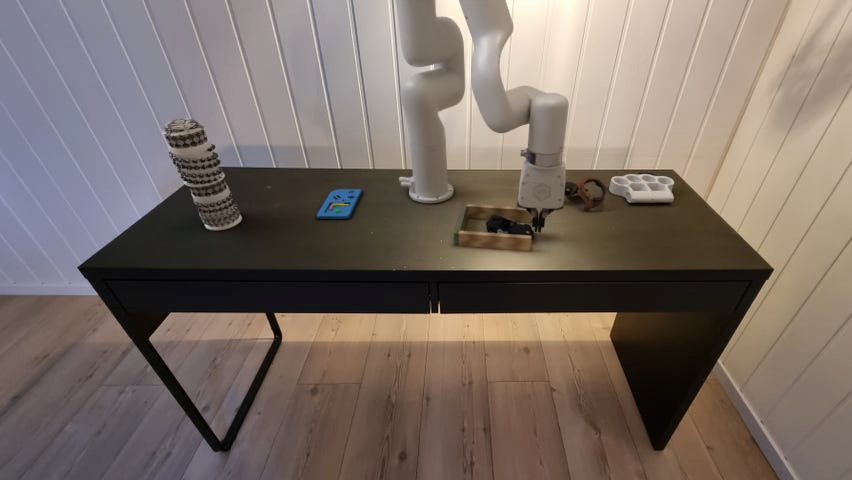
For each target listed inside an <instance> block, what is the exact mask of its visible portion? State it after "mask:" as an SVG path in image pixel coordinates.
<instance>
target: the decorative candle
mask: <svg viewBox="0 0 852 480" xmlns="http://www.w3.org/2000/svg"><path fill="white" fill-rule="evenodd" d="M161 134H162V135H164V137H165V139H166V142H167V144H168V147H169V150H170V151H169V152H168V155H169V158H170V159H172V164H173V165H174V166H175V167H176V170H177V173H178V174H180V178H181V179H182V181H183V182H184V185H185V186H187V187H188V188H189V190H190V192H191V197H192V199H193V202H192V203H193V204H194V206H195V210H197V212H198V215H199V217H200V218H201V221H202V222H201V223H203V224H204V227H205V229H207V230H209V231H224V230H227V229H231V228H233V227H235V226H237V225H239V223H241V221H242V220H243V217H242V215H241V213H240V210H239V206H238V204H237V203H236V199H235V198H234V196H233V195H234V193H233V192H232V191H231V190H230V187H229V186H228V184H227V182H226V180H225V179H224V178H225V177H226V175H225V173H224V168H223V167H221V166H219V165H220V164H221V159H219V154H218V153H217V152H214V150H215V149H216V144H213V143H211V141H210V139H209V137H208V136H207V133H206V131H205V124H203V123H199V122H198V121H197V120H196V119H193V118H189V117H188V118H186V117H185V118H177V119H173V120H170V121H167V123H166V124H165V125H164V128H163V130H162V131H161Z"/></svg>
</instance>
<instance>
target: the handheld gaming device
mask: <svg viewBox="0 0 852 480" xmlns="http://www.w3.org/2000/svg"><path fill="white" fill-rule="evenodd" d="M361 195H362V189H358V188H356V189H355V188H354V189H353V188H351V189H350V188H349V189H347V188H346V189H345V188H344V189H343V188H342V189H341V188H339V189H334V190H332V191H331V192H329V194H328V196H327V197H326V199H325V200H324V202H323V204H322V206H320V209H319V210H318V212H317V214H316V218H317V219H319V220H348V219H350V217H351V216H352V214H353V211H354V209H355V207H356V206H357V203H358V201H359V199H360V197H361Z"/></svg>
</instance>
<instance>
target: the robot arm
mask: <svg viewBox="0 0 852 480" xmlns="http://www.w3.org/2000/svg"><path fill="white" fill-rule="evenodd" d="M458 2H459V5H460V8H461V10H462V14H463V16H464V20H465V22H466V26H467V28H468V31H469V34H470V37H471V40H472V44H473V50H472V55H471V56H472V57H471V64H470V65H471V66H470V83H471V90H472V94H473V97H474V99H475V103H476V105H477V108H478V110H479V113H480V115H481V117H482V120H483V121H484V123H485V125H486V126H487V127H488V129H490V130H491V132H494V133H497V134H506V133H509V132H511V131H513V130H516V129H517V128H520V127H522V126H526V125H528V135H527V147H526V148H525V149H520V157H523V158H524V160H523V162H522V166H521V170H520V176H519V183H518V194H517V198H518V199H517V201H516V207H519V208H522V209H526V210H527V211H528V212H529V213H530V214H531V215H532V219H531V227H532V228H533V229H534V230H533V232H534V233H542V228H543V229H545V224H546V219H547V217H548V215H550V214H551V213H553V212H555V211H562V210H564V201H565V195H564V193H565V183H566V178H567V177H566V175H567V173H566V171H567V169H566V163H565V161H564V160H563V155H564V148H565V140H566V133H567V123H568V115H569V106H570V103H569V100H568V97H566V96H565V95H563V94H560V93H556V92H546V91H543V90H540V89H538V88H535V87H533V86H529V85H520V86H516V87H514V88H511V89H508V90H506V89H505V85H504V83H503V80H502V75H501V67H500V66H501V64H500V63H501V56H502V51H503V50H504V47H505V46H506V43H507V41H508V40H509V38H510V37H511V36H512V35H513V32H514V22H513V19H512V16H511V12H510V10H509V7H508V3H507V0H458ZM395 3H396V4H395V5H396V14H397V22H398V31H399V39H400V46H401V52H402V57H403V58H404V61H405V62H406V63H407V64H408V65H409V66H411V67H415V68H423V67H429V66H433V65H434V69H431V70H425V71H421V72H418V73H414V74H412V75H410V76H409V77H407V78H406V79H405V80H404V81H403V83H402V84H401V86H400V91H399V92H400V93H399V94H400V101H401V104H402V107H403V111H404V115H405V119H406V125H407V131H408V133H407V134H408V141H409V149H410V151H409V152H410V159H411V170H412V171H411V172H412V176H410V177H406V176H399V178H398V182H399V184H400V187H401V188H409V189H408V195H409V197H410V198H411V199H412V200H413V201H416V202H418V203H422V204H437V203H442V202H445V201H447V200H449V199H451V198H452V197H453V196H454V187H453V186H452V184H451V183H449V182H448V181H449V179H448V156H447V136H446V135H447V134H446V129H445V125H444V123H443V121H442V119H441V118H440V116H439V113H440V112H443V111H444V110H447V109H449V108H452V107H455V106H457V105H458V104H460V103H461V101H463V98H464V96H465V92H466V71H465V70H466V65H465V43H464V37H463V34H462V31H461V28H460V27H459V25H458V23H457V22H456V21H455V20H454V19H452V18H451V17H448V16H443V15H442V16H441V15H440V16H437V5H436V4H437V3H436V0H395ZM538 209H541V210H540V211H539V210H538Z"/></svg>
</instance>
